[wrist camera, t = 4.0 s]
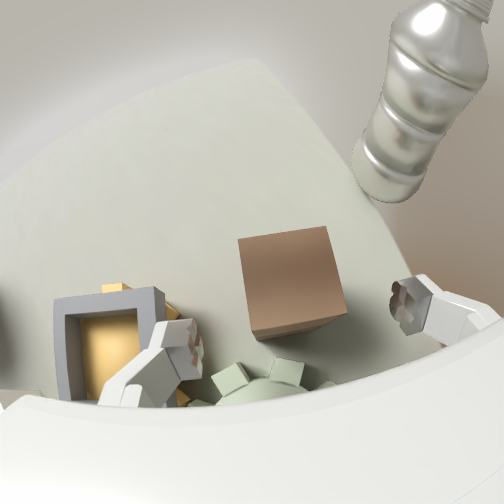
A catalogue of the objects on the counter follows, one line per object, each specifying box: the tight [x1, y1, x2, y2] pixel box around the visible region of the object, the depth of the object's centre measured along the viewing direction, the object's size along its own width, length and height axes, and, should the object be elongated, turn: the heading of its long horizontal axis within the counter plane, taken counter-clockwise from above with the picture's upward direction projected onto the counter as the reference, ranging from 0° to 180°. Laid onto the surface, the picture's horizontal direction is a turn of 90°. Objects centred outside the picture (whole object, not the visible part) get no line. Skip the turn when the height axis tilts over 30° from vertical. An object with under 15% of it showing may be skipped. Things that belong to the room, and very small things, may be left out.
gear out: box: [53, 283, 191, 408], centre depth 16 cm, size 11×11×4 cm
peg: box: [238, 226, 347, 341], centre depth 15 cm, size 4×4×8 cm
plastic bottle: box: [352, 0, 493, 203], centre depth 14 cm, size 6×7×20 cm
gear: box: [187, 357, 337, 407], centre depth 14 cm, size 11×11×5 cm
